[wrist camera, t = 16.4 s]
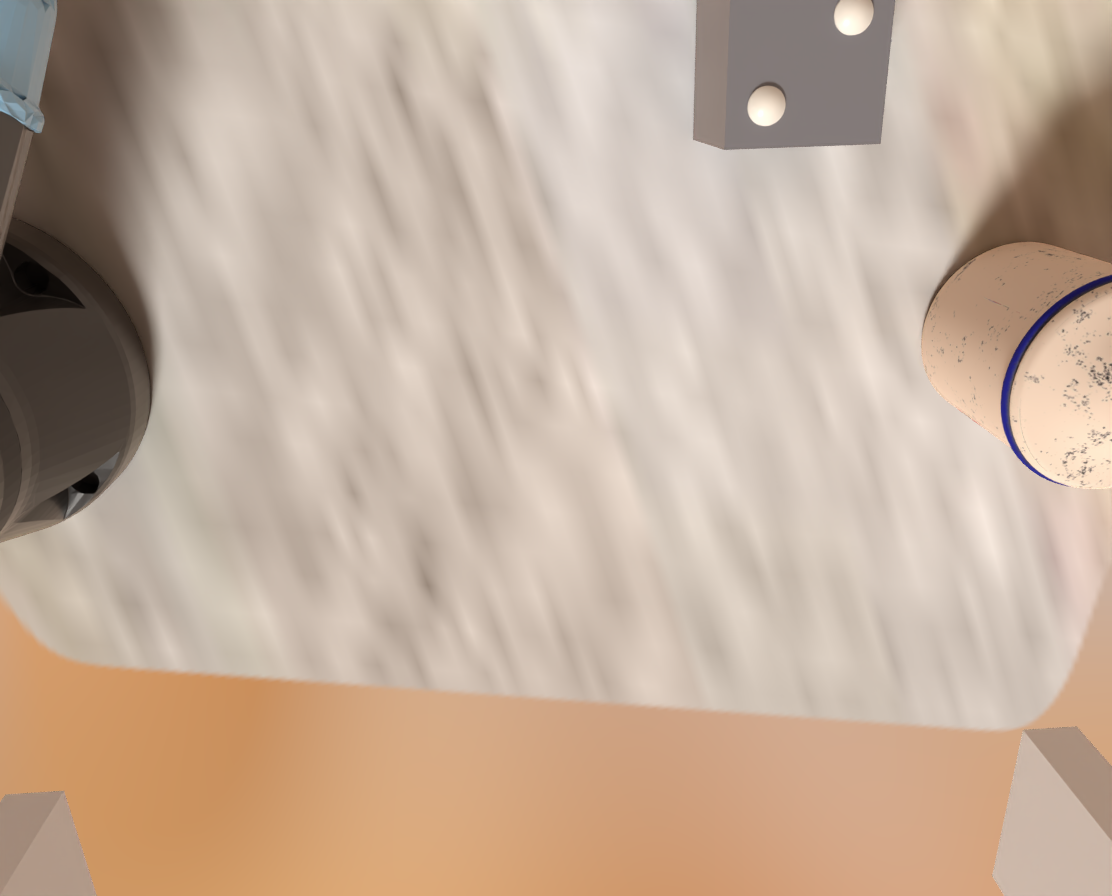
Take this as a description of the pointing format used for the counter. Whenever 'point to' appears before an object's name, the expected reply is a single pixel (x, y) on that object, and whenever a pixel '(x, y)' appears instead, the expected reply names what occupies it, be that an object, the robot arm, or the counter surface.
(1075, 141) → the counter surface
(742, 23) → the die
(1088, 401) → the teacup with lid
